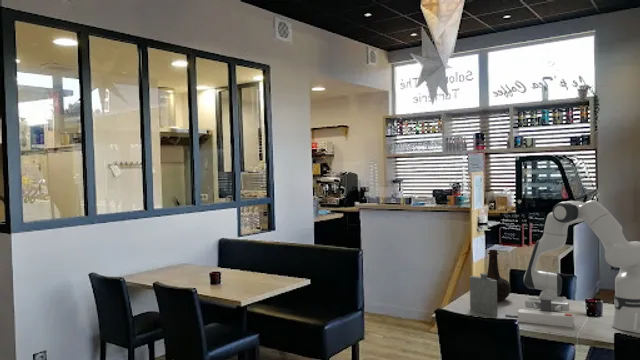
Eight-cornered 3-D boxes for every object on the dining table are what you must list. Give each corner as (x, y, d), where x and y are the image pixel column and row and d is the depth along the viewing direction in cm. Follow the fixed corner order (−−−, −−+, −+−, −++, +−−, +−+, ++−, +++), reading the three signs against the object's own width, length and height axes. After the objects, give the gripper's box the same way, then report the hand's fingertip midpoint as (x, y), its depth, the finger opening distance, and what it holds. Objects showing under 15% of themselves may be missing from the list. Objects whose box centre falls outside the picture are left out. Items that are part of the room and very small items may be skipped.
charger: (541, 317, 257) (541, 297, 257) (551, 318, 256) (551, 297, 255) (540, 320, 251) (540, 300, 251) (550, 321, 249) (550, 301, 249)
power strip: (506, 317, 260) (506, 306, 260) (573, 323, 247) (573, 312, 246) (504, 320, 254) (504, 309, 254) (573, 327, 241) (573, 315, 241)
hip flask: (469, 309, 275) (468, 271, 274) (474, 308, 277) (473, 270, 277) (494, 316, 262) (494, 276, 261) (499, 314, 264) (499, 275, 264)
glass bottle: (500, 305, 283) (500, 253, 283) (471, 299, 296) (470, 250, 296) (516, 299, 295) (516, 249, 295) (488, 294, 308) (487, 246, 308)
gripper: (525, 293, 271) (523, 299, 259) (569, 297, 262) (569, 303, 250) (525, 306, 271) (523, 312, 259) (569, 309, 262) (569, 316, 250)
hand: (546, 308), depth 254 cm, fingers open, 8 cm apart
